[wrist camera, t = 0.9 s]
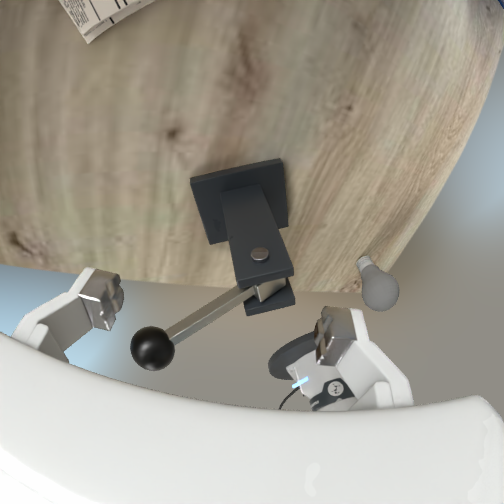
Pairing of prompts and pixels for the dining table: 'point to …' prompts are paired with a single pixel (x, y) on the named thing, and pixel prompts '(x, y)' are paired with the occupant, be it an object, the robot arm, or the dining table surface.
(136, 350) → the lever
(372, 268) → the light bulb
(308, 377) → the robot arm
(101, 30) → the newspaper
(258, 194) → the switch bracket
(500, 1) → the starfish
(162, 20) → the dining table surface
